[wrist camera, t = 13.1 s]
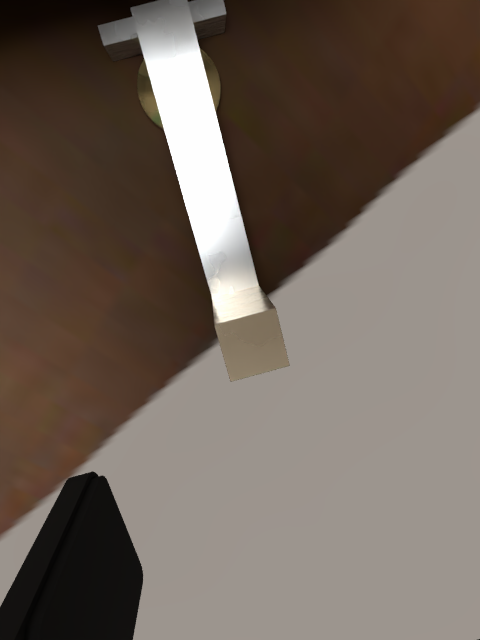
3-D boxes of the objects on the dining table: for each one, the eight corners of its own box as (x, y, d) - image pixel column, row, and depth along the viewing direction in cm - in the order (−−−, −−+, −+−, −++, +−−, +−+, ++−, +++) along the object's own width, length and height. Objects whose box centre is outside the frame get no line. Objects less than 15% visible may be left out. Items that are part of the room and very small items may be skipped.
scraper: (289, 309, 30) (329, 355, 21) (195, 335, 30) (191, 392, 21) (220, 14, 25) (229, -108, 16) (107, 43, 25) (48, -62, 16)
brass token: (205, 37, 26) (205, 29, 25) (230, 121, 27) (231, 117, 26) (128, 62, 26) (124, 55, 25) (156, 145, 27) (154, 142, 26)
